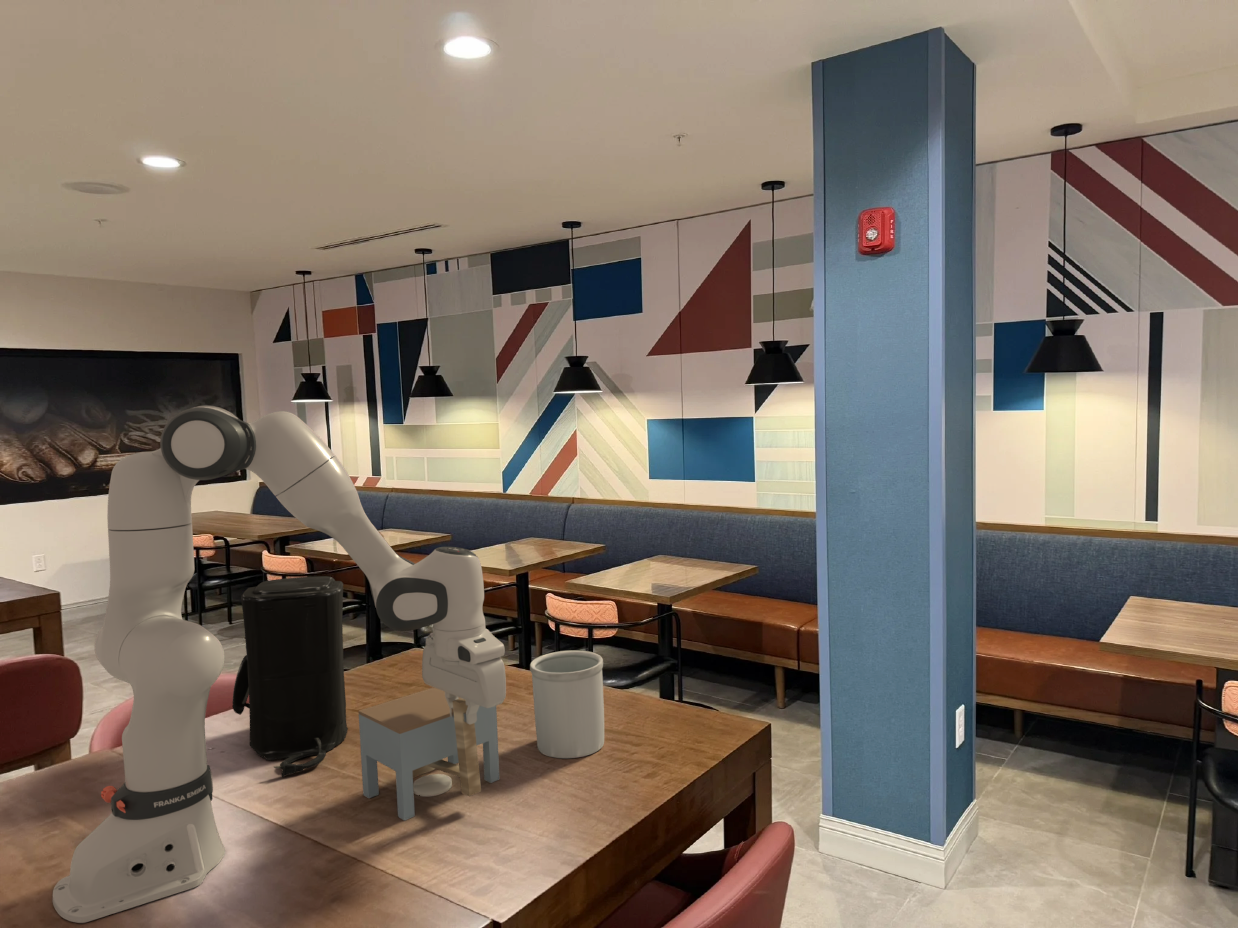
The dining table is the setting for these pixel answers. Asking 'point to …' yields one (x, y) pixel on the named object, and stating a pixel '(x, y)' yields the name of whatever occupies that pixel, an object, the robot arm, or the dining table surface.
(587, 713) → the utensil holder
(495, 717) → the wooden top stool
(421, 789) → the smooth oval stone
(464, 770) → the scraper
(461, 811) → the dining table surface
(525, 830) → the dining table surface
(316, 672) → the coffee maker
